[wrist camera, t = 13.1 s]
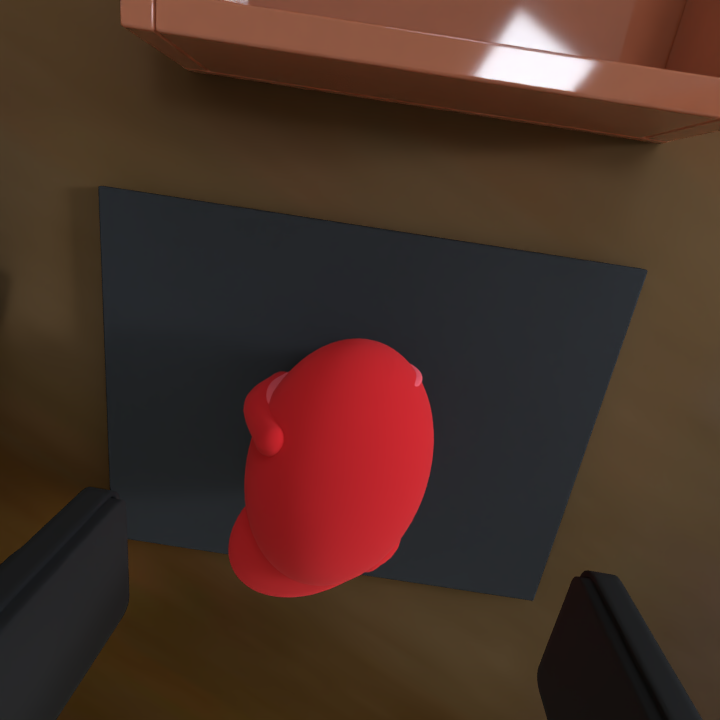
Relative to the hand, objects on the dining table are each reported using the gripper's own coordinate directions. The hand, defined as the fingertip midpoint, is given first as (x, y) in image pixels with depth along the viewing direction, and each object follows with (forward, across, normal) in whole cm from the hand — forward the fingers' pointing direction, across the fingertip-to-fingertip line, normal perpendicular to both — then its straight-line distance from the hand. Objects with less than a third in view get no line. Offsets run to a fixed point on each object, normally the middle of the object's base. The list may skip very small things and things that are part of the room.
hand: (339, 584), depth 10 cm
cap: (+8, +1, 0) cm, 8 cm away
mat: (+8, +1, 0) cm, 8 cm away
